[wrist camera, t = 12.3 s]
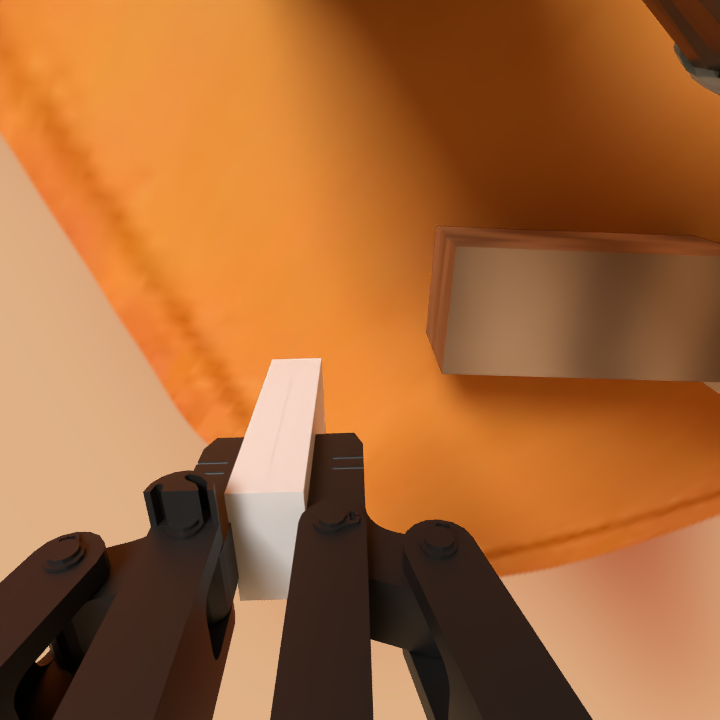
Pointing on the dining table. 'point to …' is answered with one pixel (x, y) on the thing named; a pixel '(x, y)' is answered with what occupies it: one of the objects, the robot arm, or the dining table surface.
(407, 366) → the dining table surface
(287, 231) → the dining table surface
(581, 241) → the walnut bar
